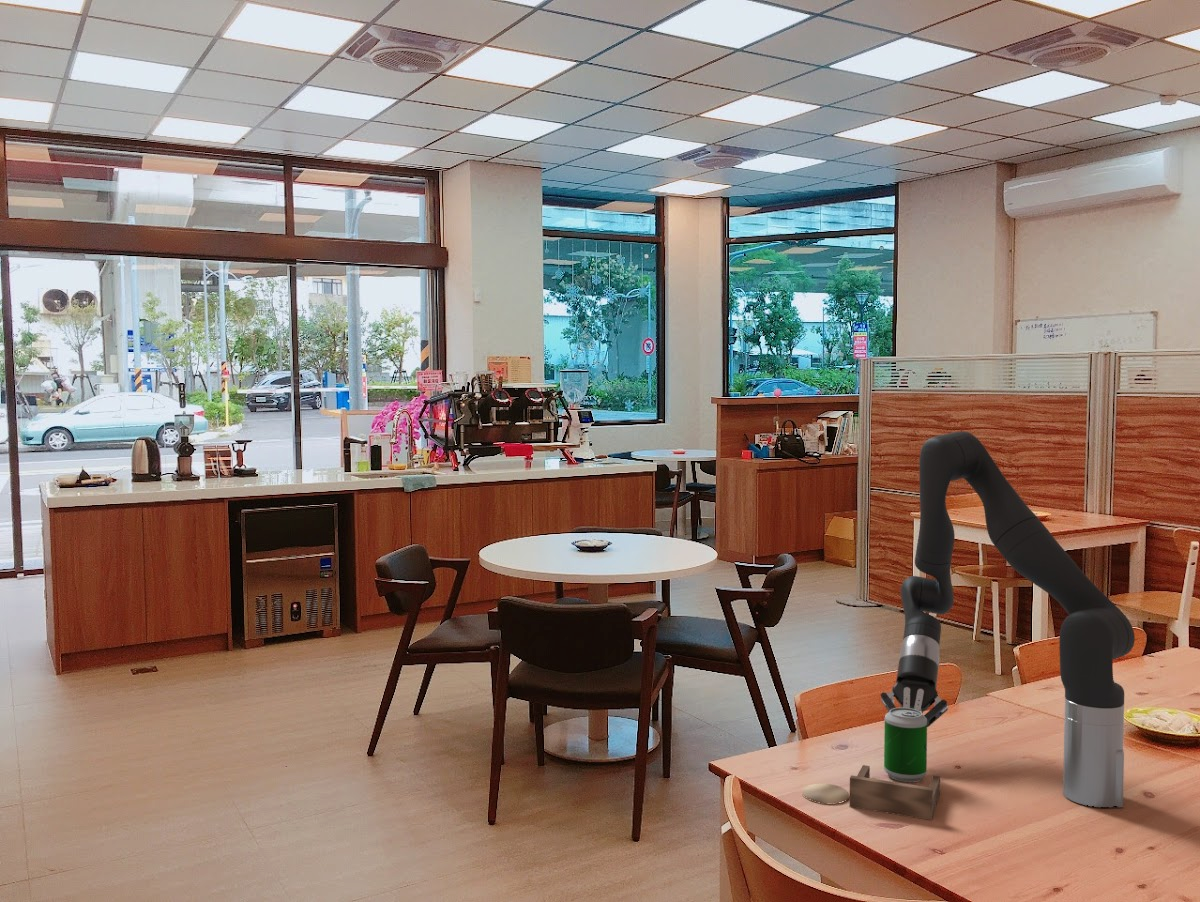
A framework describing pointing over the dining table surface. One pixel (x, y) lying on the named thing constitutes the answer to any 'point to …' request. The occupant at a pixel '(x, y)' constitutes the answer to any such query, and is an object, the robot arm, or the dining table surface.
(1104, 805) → the robot arm
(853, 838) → the dining table surface
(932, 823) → the dining table surface
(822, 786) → the beige domed disc
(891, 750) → the soda can
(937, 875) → the dining table surface
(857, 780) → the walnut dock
